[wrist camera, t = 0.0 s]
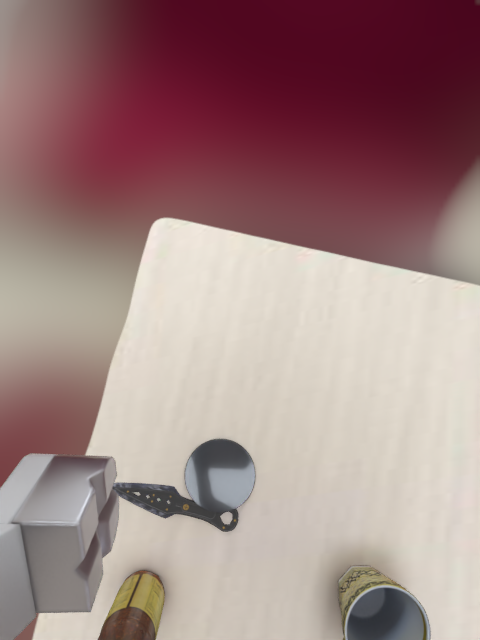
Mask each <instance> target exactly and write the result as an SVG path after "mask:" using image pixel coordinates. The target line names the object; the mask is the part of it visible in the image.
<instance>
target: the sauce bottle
mask: <svg viewBox="0 0 480 640" xmlns="http://www.w3.org/2000/svg"><path fill="white" fill-rule="evenodd" d="M164 596H165V593H164V587H163V584H162V582H161V580H160V578H159V577H158V576H157V575H155V574H154V573H151V572H148V571H138V572H135V573H133V574H132V575H131V576H129V577H128V578H127V579H126V580H125V581H124V583H123V585H122V586H121V588H120V590H119V592H118V594H117V596H116V598H115V600H114V603H113V605H112V607H111V609H110V611H109V614H108V616H107V618H106V620H105V622H104V624H103V627H102V629H101V633H100V636H99V638H98V640H156V636H157V632H158V628H159V624H160V619H161V614H162V610H163V605H164V598H165V597H164Z"/></svg>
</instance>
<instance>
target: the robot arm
mask: <svg viewBox="0 0 480 640" xmlns="http://www.w3.org/2000/svg"><path fill="white" fill-rule="evenodd" d="M116 476H117V472H116V463H115V460H114V459H113V457H106V456H85V455H63V454H58V455H55V454H29V455H27V456H25V457H24V458H23V459H22V460H21V461H20V463H19V464H18V465H17V467H16V468H15V469H14V471H13V472H12V473H11V475H10V476H9V477H8V479H7V480H6V481H5V483H4V484H3V485H2V487H1V488H0V640H14V639H15V638H16V637H17V636H18V635H19V634H20V633H21V631H23V630H24V628H26V626H28V624H29V623H30V622H31V621H32V620H33V619H34V618H35V617H36V613H61V612H91V609H92V606H93V603H94V600H95V597H96V594H97V591H98V588H99V586H100V583H101V580H102V577H103V564H102V558H103V557H104V556H106V555H107V554H108V553H109V552H110V551H111V549H112V546H113V543H114V540H115V536H116V531H117V525H118V519H119V496H118V494H117V493H116V492H115V491H114V490H113V489H112V487H113V484H114V482H115V479H116Z"/></svg>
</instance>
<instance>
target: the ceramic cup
mask: <svg viewBox="0 0 480 640" xmlns="http://www.w3.org/2000/svg"><path fill="white" fill-rule="evenodd" d="M338 594H339V605H340V609H341V615H342V627H343V634H344V638H343V640H430V636H431V635H430V625H429V620H428V617H427V614H426V612H425V610H424V608H423V606H422V605H421V603H420V602H419V601H418V600H417V599H416V598H415V597H414V596H413V595H412V594H411V593H410V592H408V591H407V590H406V589H405V588H403V587H402V586H401V585H399V584H397V583H396V582H394V581H393V580H391V579H389V578H387V577H386V576H384V575H383V574H381V573H380V572H378V571H377V570H375V569H374V568H372V567H371V566H351V567H350V568H349V569H348V570H347V572H346V573H345V574H344V575H343V576H342V577H341V578H340V579H339V581H338Z"/></svg>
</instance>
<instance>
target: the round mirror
mask: <svg viewBox="0 0 480 640" xmlns="http://www.w3.org/2000/svg"><path fill="white" fill-rule="evenodd" d="M254 483H255V468H254V464H253V461H252V459H251V457H250V455H249V454H248V452H247V451H246V450H245V449H244V448H243V447H242V446H241V445H239V444H238V443H236V442H234V441H231V440H227V439H214V440H210V441H207V442H205V443H203V444H202V445H200V446H199V447H198V448H197V449H196V450H195V451H194V452H193V453H192V455H191V456H190V458H189V460H188V462H187V465H186V469H185V484H186V488H187V490H188V493H189V494H190V496H191V498H192V499H193V500H194V501H195V502H196V504H198V505H199V506H200V507H202V508H203V509H205V510H208V511H211V512H217V513H223V512H228V511H232V510H234V509H236V508H238V507H239V506H241V505H242V504H243V503H244V502H245V501H246V500H247V499H248V497H249V496H250V494H251V492H252V490H253V487H254Z"/></svg>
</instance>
